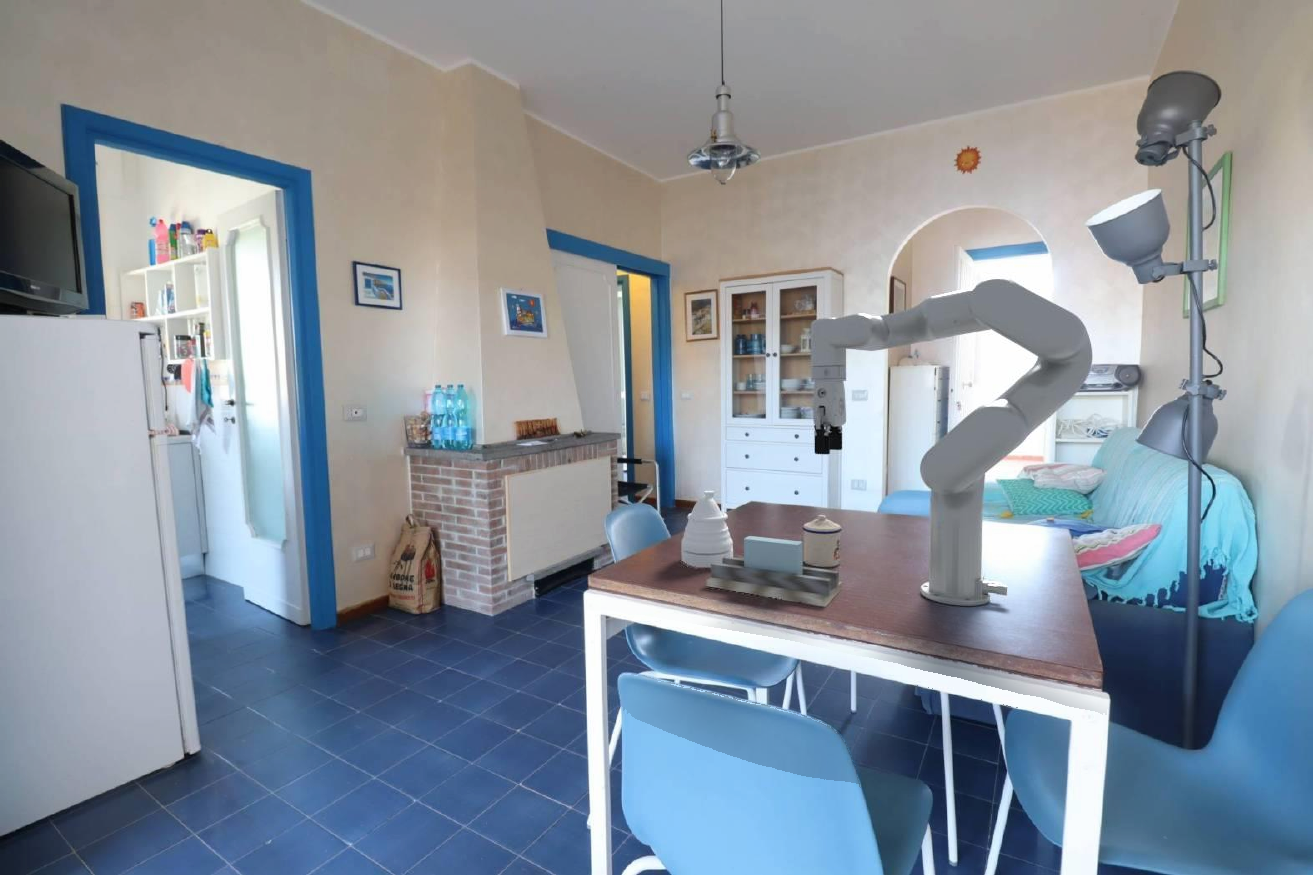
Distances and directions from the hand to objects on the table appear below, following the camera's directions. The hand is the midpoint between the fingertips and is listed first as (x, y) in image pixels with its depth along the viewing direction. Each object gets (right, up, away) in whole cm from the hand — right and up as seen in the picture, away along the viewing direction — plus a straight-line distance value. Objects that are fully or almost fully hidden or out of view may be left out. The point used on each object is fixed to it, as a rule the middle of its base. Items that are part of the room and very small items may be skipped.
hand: (828, 451), depth 138 cm
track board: (-13, -29, -5) cm, 33 cm away
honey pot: (-26, -28, +16) cm, 41 cm away
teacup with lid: (+2, -27, +14) cm, 31 cm away
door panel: (-13, -28, -6) cm, 31 cm away
